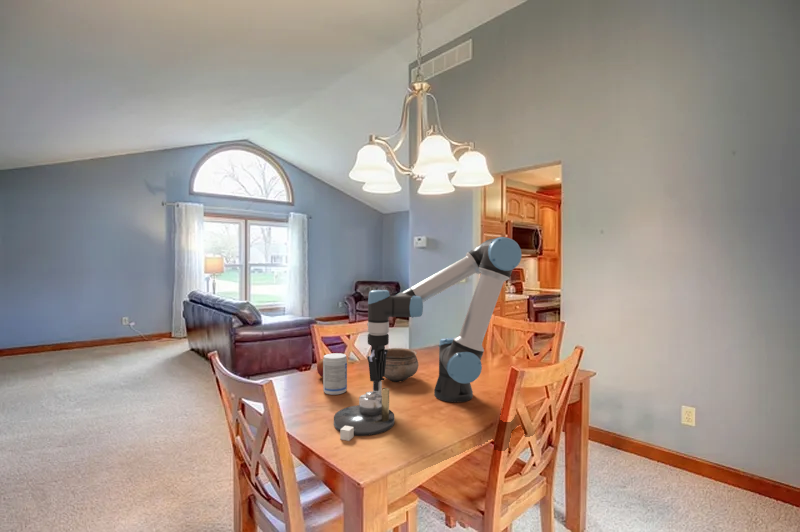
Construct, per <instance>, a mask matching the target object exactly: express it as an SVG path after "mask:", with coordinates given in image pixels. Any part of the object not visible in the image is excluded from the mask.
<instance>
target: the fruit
mask: <svg viewBox="0 0 800 532" xmlns="http://www.w3.org/2000/svg"><path fill="white" fill-rule="evenodd" d="M323 359H324V357H323V358H322V359H319V361H318V362H317V365H316V370H317V373H318V375H319V376H320V377H321V378H323Z"/></svg>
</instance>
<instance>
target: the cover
mask: <svg viewBox="0 0 800 532" xmlns="http://www.w3.org/2000/svg"><path fill="white" fill-rule="evenodd" d="M358 401H359V402H358V405H359V412H360V413H361V414H364V415H376V414H379V413H381V412H382V396H381V395H379V394H376V392H373V390H371V391H367V392H365V393H364V394H361V395H360V396H359V397H358Z"/></svg>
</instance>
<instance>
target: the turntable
mask: <svg viewBox="0 0 800 532" xmlns="http://www.w3.org/2000/svg"><path fill="white" fill-rule="evenodd" d="M394 425H395V414H394V412H393V411H392V410H391V409H390V388H388V387H383V388H382V412H381V413H379V414H376V415H364V414H361V413H360V412H359V404H358V405H351V406H348V407H344V408H342V409H340V410H339V411H337V412H335V414H334V415H333V426H334V428H335V429H336V430H337V431H338V432H340V429H341V428H343V427H344V426H351V427H354V436H358V437H359V436H361V437H362V436H363V437H364V436H373V435H379V434H382V433H385V432H387V431H389V430H390V429H392V428H393V427H394Z"/></svg>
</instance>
